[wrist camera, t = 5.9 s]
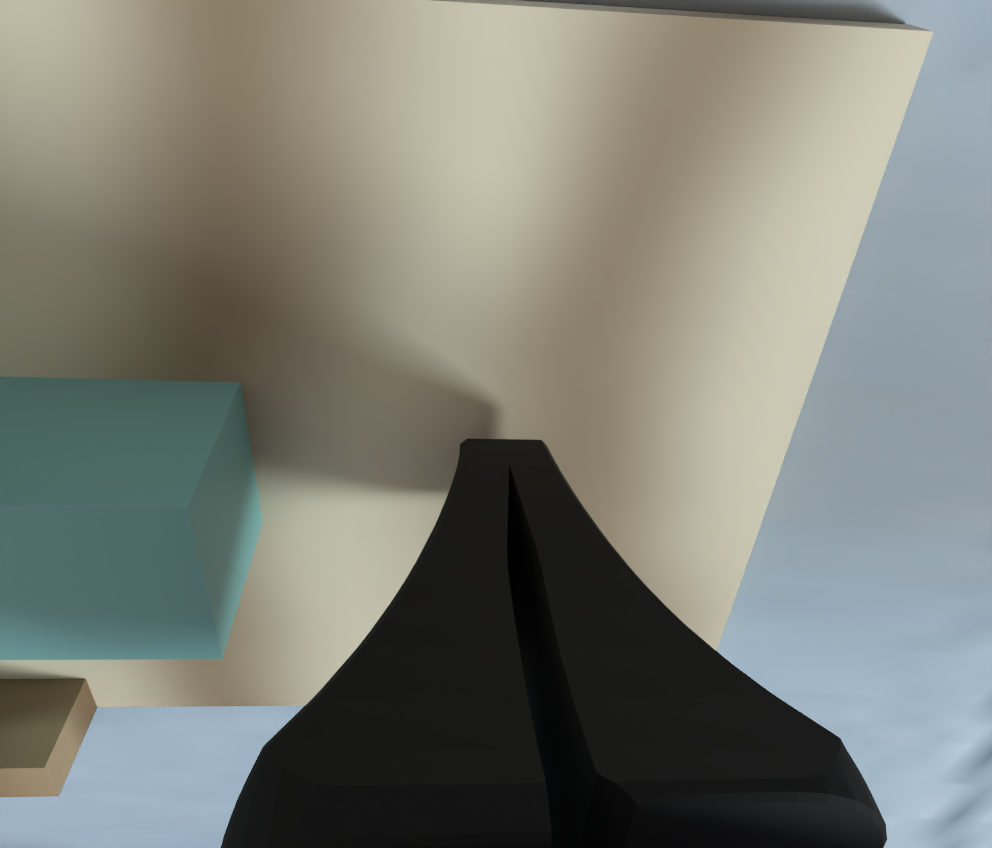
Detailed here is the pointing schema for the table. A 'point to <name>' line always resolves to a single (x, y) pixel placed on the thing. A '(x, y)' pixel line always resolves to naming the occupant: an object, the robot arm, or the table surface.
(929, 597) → the table surface
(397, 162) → the board
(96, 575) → the t block
